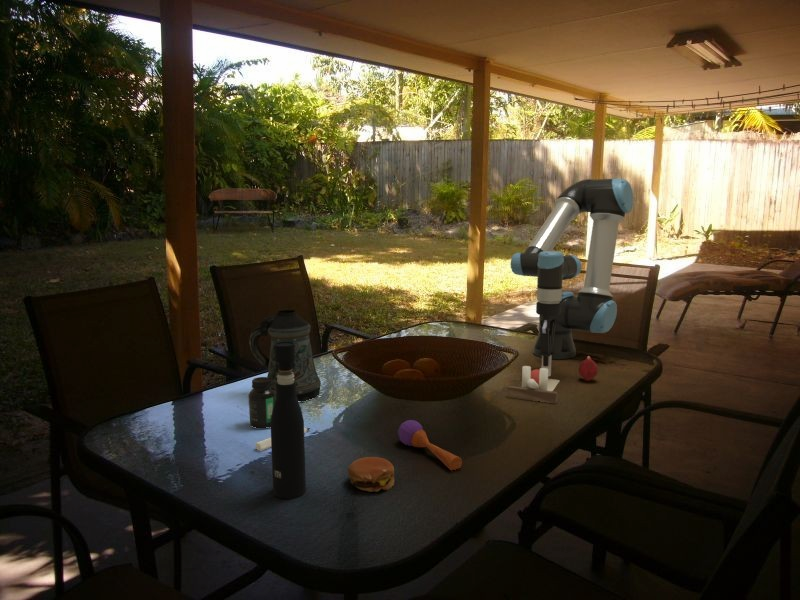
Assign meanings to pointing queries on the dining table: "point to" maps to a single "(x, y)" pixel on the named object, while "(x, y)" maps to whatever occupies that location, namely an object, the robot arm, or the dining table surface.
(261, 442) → the marker
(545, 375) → the back pin left
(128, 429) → the dining table surface
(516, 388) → the backstop
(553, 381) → the cream flat rectangular slab
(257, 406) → the supplement bottle
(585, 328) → the robot arm
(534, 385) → the front pin
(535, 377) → the ball
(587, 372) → the onion
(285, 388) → the black water bottle
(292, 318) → the beer stein
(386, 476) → the burger
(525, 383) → the back pin right
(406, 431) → the maraca
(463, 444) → the dining table surface
